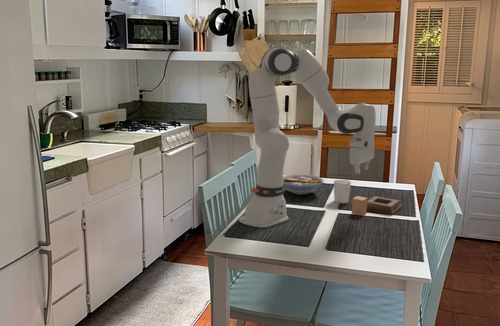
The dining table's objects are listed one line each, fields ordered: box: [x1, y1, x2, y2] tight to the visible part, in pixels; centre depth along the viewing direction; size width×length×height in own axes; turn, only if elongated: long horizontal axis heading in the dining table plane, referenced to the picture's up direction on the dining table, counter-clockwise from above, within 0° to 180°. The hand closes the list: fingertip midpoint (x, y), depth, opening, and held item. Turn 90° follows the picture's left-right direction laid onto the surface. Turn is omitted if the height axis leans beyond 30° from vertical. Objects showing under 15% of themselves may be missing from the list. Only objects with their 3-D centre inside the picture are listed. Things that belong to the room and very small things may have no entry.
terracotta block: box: [351, 195, 369, 216], centre depth 213 cm, size 5×5×7 cm
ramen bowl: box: [283, 173, 325, 196], centre depth 244 cm, size 25×23×8 cm
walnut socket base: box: [367, 195, 403, 216], centre depth 221 cm, size 14×14×4 cm
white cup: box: [333, 179, 352, 204], centre depth 230 cm, size 8×8×10 cm
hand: (361, 171), depth 210 cm, fingers open, 8 cm apart
